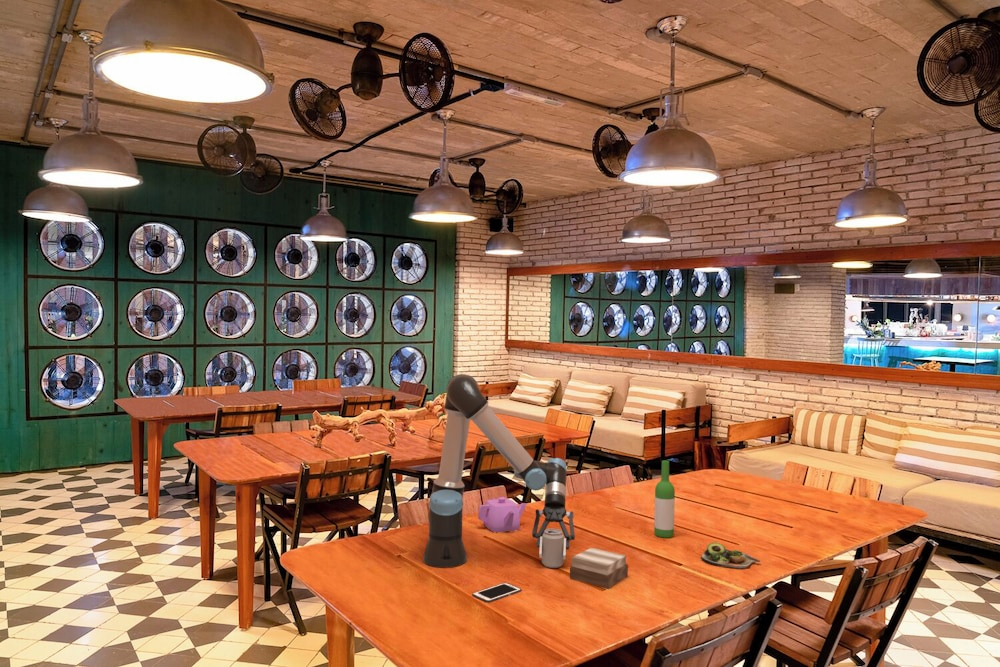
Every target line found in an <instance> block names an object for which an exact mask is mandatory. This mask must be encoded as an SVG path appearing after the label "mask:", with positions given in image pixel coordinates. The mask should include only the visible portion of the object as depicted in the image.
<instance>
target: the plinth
mask: <svg viewBox="0 0 1000 667" xmlns="http://www.w3.org/2000/svg"><path fill="white" fill-rule="evenodd" d="M628 574H629V564H627V555H625V554H623V553H622V554H621V553H617V552H613V551H607V550H605V549H604V550H603V549H600V548H595V547H589V548H588V549H586V550H584V551H581V552H580V553H578V554H576V555H573V556H572V557H571V565H570V566H569V579H570V580H573V581H578V582H580V583H584V584H588V585H592V586H596V587H600V588H602V589H603V588H604V589H607V590H608V589H610V588H612V587H613V586H615V585H616V584H619V583H620V582H622V581H623V580H625V579H626V578H628V576H629V575H628Z"/></svg>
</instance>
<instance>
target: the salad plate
mask: <svg viewBox="0 0 1000 667" xmlns="http://www.w3.org/2000/svg"><path fill="white" fill-rule="evenodd" d="M700 559H701V560H702V561H703V562H704V563H706V564H709V565H712V566H716V567H723V568H729V569H747V568H749V567H750V565H751V564H753V563H760V562H761V560H760V559H757V558H754V557H752V556H751V555H749V554H748V553H746V552H745V553H744V552H743V551H740V550H737V549H734V550H730V549H727V548H726V547H725V546H724V545H723V544H722V543H720V542H711V543H709V544H707V546H706V550H704V551H703V554H702V555H701V556H700Z"/></svg>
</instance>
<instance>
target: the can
mask: <svg viewBox="0 0 1000 667" xmlns="http://www.w3.org/2000/svg"><path fill="white" fill-rule="evenodd" d="M564 538H565V536H564V534H563V531H562V529H559V528H546V529H545V531H544V533H543V535H542V558H541V563H542V565H543V566H544V567H546V568H551V569H557V568H560V567H562V566H563V564H564V559H563V550H564Z"/></svg>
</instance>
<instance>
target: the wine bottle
mask: <svg viewBox="0 0 1000 667" xmlns="http://www.w3.org/2000/svg"><path fill="white" fill-rule="evenodd" d="M654 489H655V490H654V522H653V523H654V528H653V529H654V530H653V531H654V532H653V533H654V535H655V536H656V537H659V538H662V539H668V538H672V537H674V535H675V504H676V503H675V500H676V498H675V496H676V495H675V493H676V492H675V491H676V489H675V487H674V484H673V483H672V482H670V460H665V459H664V460H661V475H660V481H659V482H657V483H656V485H655V488H654Z"/></svg>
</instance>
